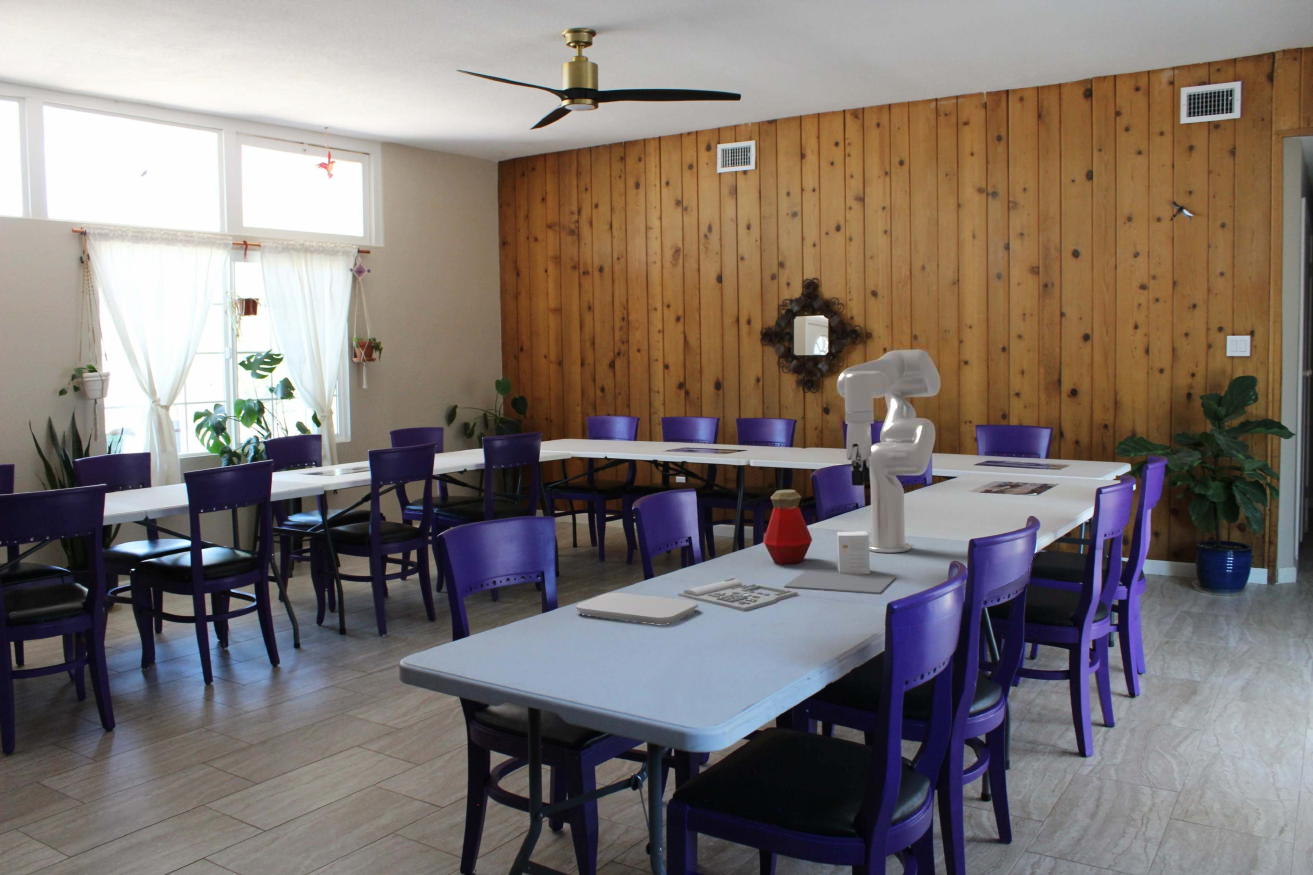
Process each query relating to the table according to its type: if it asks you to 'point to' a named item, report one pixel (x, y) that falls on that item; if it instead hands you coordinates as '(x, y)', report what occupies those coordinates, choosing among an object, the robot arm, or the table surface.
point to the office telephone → (737, 594)
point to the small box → (853, 552)
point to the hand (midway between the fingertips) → (860, 483)
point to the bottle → (787, 529)
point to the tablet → (637, 608)
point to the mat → (841, 582)
